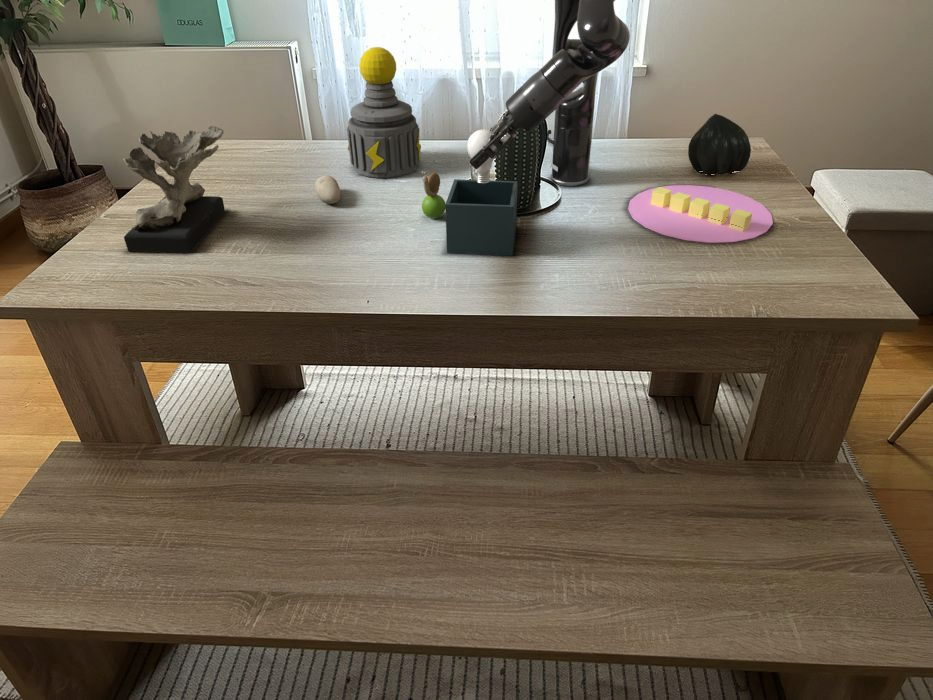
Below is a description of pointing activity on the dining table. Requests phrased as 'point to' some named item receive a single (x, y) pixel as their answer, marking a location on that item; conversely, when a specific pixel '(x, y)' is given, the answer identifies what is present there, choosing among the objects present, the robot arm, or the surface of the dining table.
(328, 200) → the stone
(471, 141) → the lightbulb
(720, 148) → the squash
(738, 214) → the platter
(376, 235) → the dining table surface
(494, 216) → the trash bin
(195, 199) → the coral
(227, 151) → the dining table surface
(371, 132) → the decorative lamp
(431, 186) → the green ball figurine
